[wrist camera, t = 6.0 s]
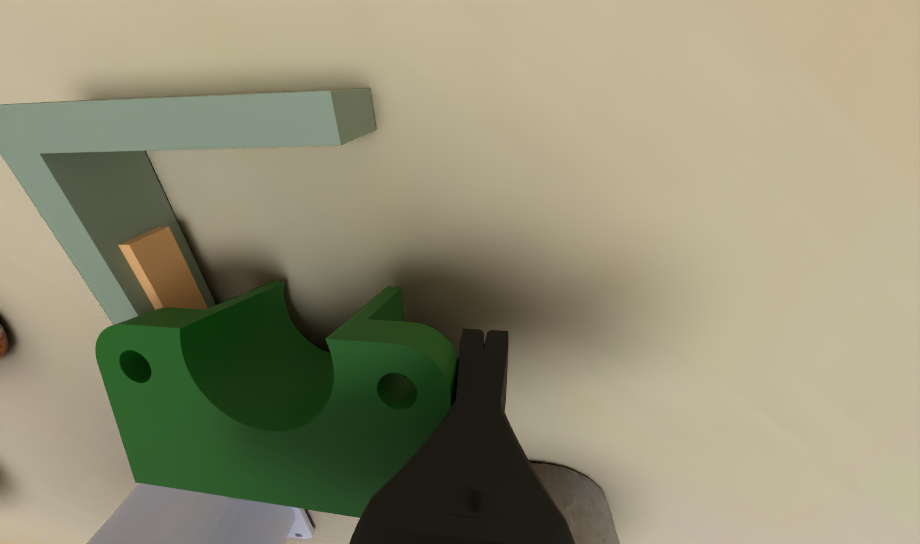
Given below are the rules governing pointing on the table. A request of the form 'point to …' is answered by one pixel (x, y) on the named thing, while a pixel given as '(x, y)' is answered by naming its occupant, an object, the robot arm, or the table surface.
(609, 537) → the pillar candle
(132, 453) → the clamp
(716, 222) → the table surface
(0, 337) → the sauce bottle
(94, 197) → the bracket
